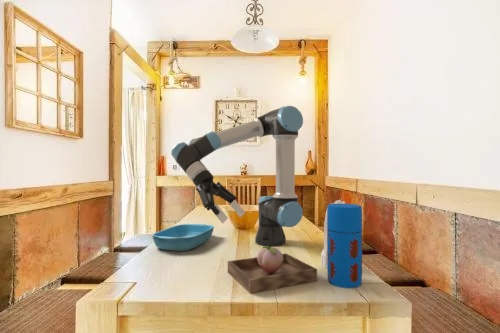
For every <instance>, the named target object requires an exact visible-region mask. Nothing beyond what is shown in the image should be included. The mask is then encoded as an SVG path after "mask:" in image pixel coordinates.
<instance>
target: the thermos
mask: <svg viewBox="0 0 500 333" xmlns="http://www.w3.org/2000/svg"><path fill="white" fill-rule="evenodd" d="M327 208H328V209H327ZM327 208H326V211H327V228H328V229H327V268H326V269H327V282H328V283H329V284H330V285H333V286H335V287H338V288H344V289H354V288H358V287H360V286H362V279H363V278H362V277H363V209H362V205H359V204H354V203H345V204H331V203H330V204H327Z"/></svg>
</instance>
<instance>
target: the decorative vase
mask: <svg viewBox="0 0 500 333" xmlns="http://www.w3.org/2000/svg"><path fill="white" fill-rule="evenodd" d="M330 204H346V202H345V200H343V201H341V199H339V200H337V199H336V200H335V201H334V202H333V203H332V202H331V203H330ZM327 209H328V207H327V208H326V211H325V215H324V216H325V217H324V223H323V249H322V251H321V253H320V265H321V267H323V268H324V269H327V229H328V228H327Z"/></svg>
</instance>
